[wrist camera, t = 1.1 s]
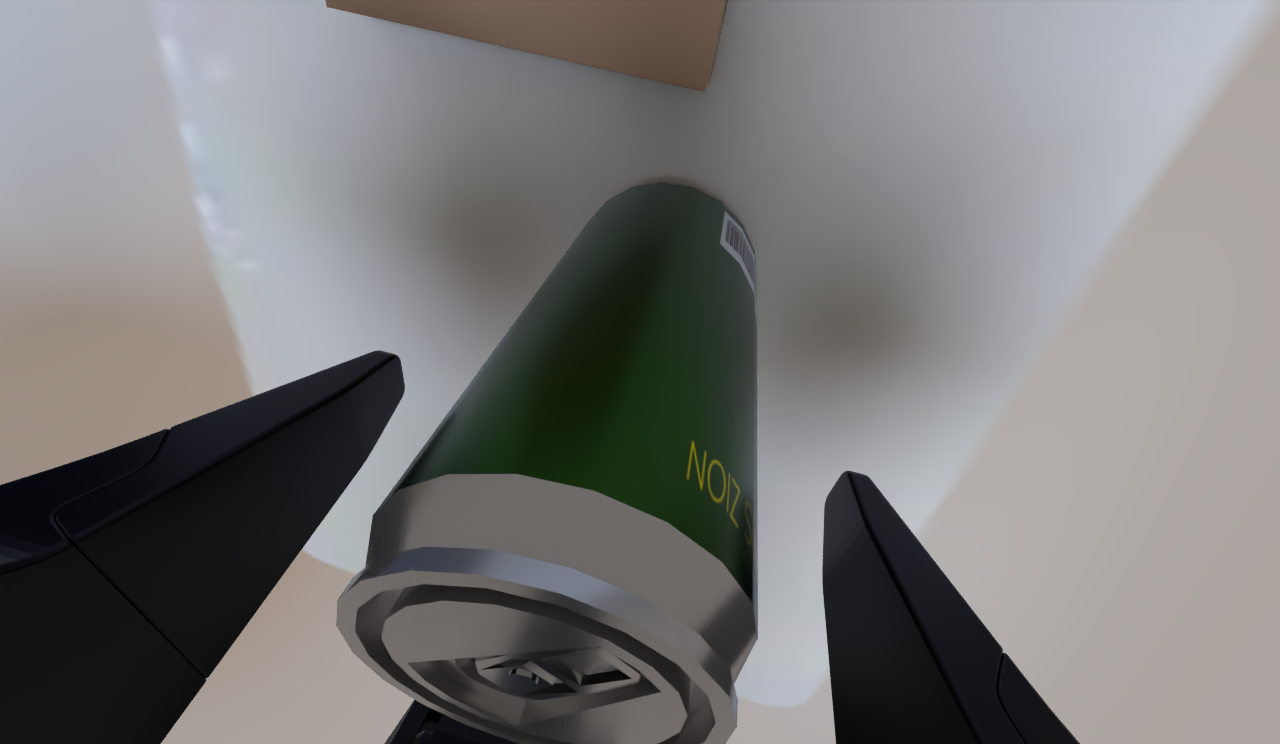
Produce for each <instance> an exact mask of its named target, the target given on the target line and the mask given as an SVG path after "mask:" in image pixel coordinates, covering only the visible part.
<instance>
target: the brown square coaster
mask: <svg viewBox="0 0 1280 744" xmlns="http://www.w3.org/2000/svg"><path fill="white" fill-rule="evenodd" d="M727 2H728V0H326V5H327V7H330V8H334V9H339V10H343V11H348V12H352V13H356V14H361V15H365V16H370V17H374V18H379V19H383V20H388V21H392V22H397V23H401V24H405V25H410V26H414V27H419V28H423V29H428V30H432V31H437V32H441V33H446V34H450V35H455V36H459V37H463V38H468V39H472V40H477V41H481V42H486V43H490V44H495V45H499V46H504V47H508V48H512V49H517V50H521V51H526V52H530V53H535V54H539V55H544V56H548V57H553V58H557V59H562V60H566V61H570V62H575V63H579V64H584V65H588V66H593V67H597V68H602V69H606V70H611V71H615V72H619V73H624V74H628V75H633V76H637V77H642V78H646V79H651V80H655V81H660V82H664V83H669V84H673V85H677V86H682V87H686V88H691V89H695V90H700V91H704V92H705V90H706V88H707V86H708V84H709V82H710V78H711V74H712V69H713V65H714V60H715V56H716V51H717V47H718V42H719V38H720V33H721V29H722V24H723V20H724V15H725V11H726V6H727Z"/></svg>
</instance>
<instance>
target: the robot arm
mask: <svg viewBox="0 0 1280 744" xmlns="http://www.w3.org/2000/svg"><path fill="white" fill-rule="evenodd" d="M404 390H405V384H404V378H403V372H402V366H401V361H400V358H399V357H398V356H397V355H395V354H392V353H388V352H384V351H374V352H371V353H368V354H365V355H363V356H360V357H357V358H355V359H352V360H349V361H347V362H344V363H341V364H339V365H336V366H333V367H331V368H328V369H325V370H323V371H320V372H317V373H315V374H312V375H309V376H307V377H304V378H301V379H299V380H296V381H293V382H290V383H288V384H285V385H282V386H280V387H277V388H274V389H272V390H269V391H266V392H264V393H261V394H258V395H256V396H253V397H250V398H248V399H245V400H242V401H240V402H237V403H234V404H232V405H229V406H226V407H224V408H221V409H218V410H216V411H213V412H210V413H208V414H205V415H202V416H199V417H197V418H194V419H192V420H189V421H186V422H183V423H181V424H178V425H175V426H173V427H171V429H170V430H169V429H164V430H162V431H159V432H157V433H154V434H151V435H149V436H146V437H143V438H141V439H138V440H135V441H132V442H129V443H126V444H124V445H121V446H118V447H116V448H113V449H110V450H107V451H104V452H102V453H98V454H95V455H92V456H89V457H86V458H83V459H80V460H77V461H74V462H71V463H68V464H65V465H62V466H59V467H56V468H53V469H50V470H46V471H44V472H40V473H37V474H34V475H31V476H28V477H24V478H21V479H18V480H15V481H12V482H9V483H5V484H2V485H0V744H160V743H161V742H162V741H163V740H164V738H165V737H166V735H167V734H168V733H169V731H170V730H171V729H172V727H173V726H174V724H175V723H176V722H177V720H178V719H179V718H180V716H181V715H182V714H183V712H184V711H185V709H186V708H187V706H188V705H189V704H190V702H191V701H192V700H193V698H194V697H195V696H196V694H197V693H198V692H199V690H200V689H201V687H202V686H203V685H204V683H205V682H206V678H208V677H209V676H210V674H211V673H212V672H213V670H214V669H215V667H216V666H217V665H218V663H219V662H220V661H221V659H222V658H223V657H224V655H225V654H226V652H227V651H228V650H229V648H230V647H231V646H232V644H233V643H234V641H235V640H236V639H237V637H238V636H239V635H240V633H241V632H242V630H243V629H244V627H245V626H246V625H247V623H248V622H249V621H250V619H251V618H252V617H253V615H254V614H255V613H256V611H257V610H258V608H259V607H260V606H261V604H262V603H263V601H264V600H265V599H266V597H267V596H268V595H269V593H270V592H271V591H272V589H273V588H274V586H275V585H276V584H277V582H278V581H279V580H280V578H281V577H282V575H283V574H284V573H285V571H286V570H287V569H288V567H289V566H290V564H291V563H292V561H293V560H294V559H295V558H296V556H297V555H298V553H299V552H300V551H301V549H302V548H303V547H304V545H305V544H306V542H307V541H308V540H309V538H310V537H311V536H312V534H313V533H314V531H315V530H316V529H317V527H318V526H319V525H320V523H321V522H322V520H323V519H324V518H325V516H326V515H327V514H328V512H329V511H330V509H331V508H332V507H333V505H334V504H335V503H336V501H337V500H338V498H339V497H340V496H341V494H342V493H343V492H344V490H345V489H346V487H347V486H348V485H349V483H350V482H351V481H352V479H353V478H354V476H355V475H356V474H357V472H358V471H359V470H360V468H361V467H362V465H363V464H364V462H365V461H366V459H367V458H368V456H369V455H370V453H371V451H372V450H373V448H374V446H375V445H376V443H377V441H378V439H379V438H380V436H381V434H382V432H383V430H384V429H385V427H386V425H387V423H388V422H389V420H390V418H391V416H392V415H393V413H394V411H395V409H396V408H397V406H398V404H399V402H400V401H401V399H402V397H403V394H404ZM823 595H824V607H825V619H826V630H827V642H828V654H829V665H830V677H831V689H832V700H833V712H834V723H835V735H836V744H1080V743H1079V742H1078V741H1077V740H1076V738H1075V737H1074V736H1073V735H1072V734H1071V733H1070V731H1069V730H1068V729H1067V728H1066V727H1065V726H1064V724H1063V723H1062V722H1061V721H1060V720H1059V719H1058V718H1057V716H1056V715H1055V714H1054V713H1053V712H1052V710H1051V709H1050V708H1049V707H1048V705H1047V704H1046V703H1045V702H1044V700H1043V699H1042V698H1041V697H1040V695H1039V694H1038V693H1037V692H1036V690H1035V689H1034V688H1033V687H1032V685H1031V684H1030V683H1029V682H1028V680H1027V679H1026V678H1025V677H1024V675H1023V674H1022V673H1021V672H1020V670H1019V669H1018V668H1017V666H1016V665H1015V664H1014V663H1013V661H1012V660H1011V659H1010V657H1009V656H1008V655H1007V654H1006V653H1002V652H1003V649H1002V647H1001V646H1000V645H999V643H998V642H997V641H996V640H995V638H994V637H993V636H992V634H991V633H990V632H989V631H988V629H987V628H986V627H985V626H984V624H983V623H982V622H981V620H980V619H979V618H978V616H977V615H976V614H975V613H974V612H973V610H972V609H971V608H970V606H969V605H968V604H967V602H966V601H965V600H964V598H963V597H962V596H961V595H960V594H959V592H958V591H957V590H956V588H955V587H954V586H953V584H952V583H951V582H950V581H949V579H948V578H947V577H946V575H945V574H944V573H943V572H942V570H941V569H940V568H939V566H938V565H937V564H936V562H935V561H934V560H933V559H932V558H931V556H930V555H929V553H928V552H927V551H926V550H925V549H924V547H923V546H922V545H921V543H920V542H919V541H918V539H917V538H916V537H915V536H914V534H913V533H912V532H911V530H910V529H909V528H908V527H907V525H906V524H905V523H904V521H903V520H902V519H901V518H900V516H899V515H898V514H897V512H896V511H895V510H894V509H893V507H892V506H891V505H890V503H889V502H888V501H887V500H886V498H885V497H884V496H883V494H882V493H881V492H880V491H879V489H878V488H877V487H876V485H875V484H874V483H873V482H872V480H871V479H870V478H869V477H868V476H866V475H864V474H860V473H856V472H852V471H845V472H844V473H843V474H842V475H841V476H840V478H839V479H838V481H837V482H836V484H835V485H834V487H833V488H832V490H831V491H830V493H829V494H828V496H827V498H826V502H825V509H824V540H823ZM385 744H519V743H515V742H512V741H509V740H506V739H504V738H501V737H498V736H495V735H493V734H490V733H487V732H484V731H482V730H479V729H476V728H473V727H471V726H468V725H465V724H463V723H461V722H459V721H457V720H455V719H453V718H451V717H448V716H446V715H444V714H442V713H440V712H438V711H436V710H434V709H432V708H430V707H428V706H425V705H423V704H421V703H420V702H418V701H416V700H414V701H413V703H412V704H411V706H410V707H409V709H408V710H407V712H406V713H405V715H404V716H403V717H402V719H401V720H400V722H399V723H398V725H397V726H396V728H395V729H394V731H393V732H392V734H391V735H390V736H389V738H388V739H387V741H386V743H385Z"/></svg>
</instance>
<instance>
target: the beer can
mask: <svg viewBox="0 0 1280 744" xmlns="http://www.w3.org/2000/svg"><path fill="white" fill-rule="evenodd" d="M336 625H337V627H338V629H339V630H340V632H341V634H342V635H343V637H344V638H345V640H346V642H347V643H348V645H349V647H350V648H351V650H352V652H353V653H354V654H355V655H356V656H357V657H358V658H360V659H361V660H362V661H363V662H364V663H365V664H366V665H367V666H369V667H370V668H371V669H372V670H373V671H374V672H375V673H377V674H378V675H379V676H380V677H381V678H382V679H383V680H385V681H386V682H388V683H390V684H391V685H393V686H394V687H396V688H397V689H399V690H401V691H402V692H404V693H405V694H407V695H409V696H410V697H412V698H414V699H415V700H416V701H418V702H420V703H421V704H423V705H425V706H428V707H430V708H432V709H434V710H436V711H438V712H440V713H442V714H444V715H446V716H448V717H451V718H453V719H455V720H457V721H459V722H461V723H463V724H465V725H468V726H471V727H473V728H476V729H479V730H482V731H484V732H487V733H490V734H493V735H495V736H498V737H501V738H504V739H506V740H509V741H512V742H515V743H519V744H725V743H726V742H727V740H728V739H729V737H730V736H731V734H732V733H733V731H734V730H735V728H736V727H737V701H738V700H737V696H736V691H735V687H734V683H735V681H736V679H737V677H738V675H739V673H740V671H741V669H742V667H743V665H744V663H745V662H746V660H747V658H748V656H749V654H750V652H751V650H752V648H753V646H754V644H755V642H756V640H757V638H758V584H757V276H756V264H755V252H754V249H753V246H752V244H751V242H750V240H749V238H748V235H747V233H746V231H745V229H744V227H743V225H742V223H741V222H740V221H739V220H738V219H737V218H736V217H735V216H734V215H733V214H732V213H731V212H730V211H729V210H728V209H727V208H726V207H725V206H724V205H723V203H722V202H720V201H718V200H716V199H714V198H712V197H710V196H709V195H707V194H705V193H703V192H701V191H699V190H697V189H695V188H693V187H687V186H681V185H675V184H669V183H656V184H650V185H644V186H638V187H632V188H630V189H628V190H626V191H625V192H623V193H621V194H619V195H617V196H616V197H614V198H612V199H610V200H608V201H607V202H606V203H605V204H604V205H603V206H602V207H601V208H600V209H599V211H598V212H597V213H596V214H595V215H594V216H593V217H592V219H591V220H590V221H589V222H588V223H587V225H586V226H585V227H584V229H583V230H582V232H581V233H580V234H579V236H578V237H577V238H576V240H575V241H574V242H573V244H572V245H571V247H570V248H569V249H568V251H567V252H566V253H565V255H564V256H563V257H562V259H561V260H560V262H559V263H558V264H557V266H556V267H555V268H554V270H553V271H552V272H551V274H550V275H549V277H548V278H547V279H546V281H545V282H544V283H543V285H542V286H541V287H540V289H539V290H538V292H537V293H536V294H535V296H534V297H533V298H532V300H531V301H530V302H529V304H528V305H527V307H526V308H525V309H524V311H523V312H522V313H521V315H520V316H519V317H518V319H517V320H516V321H515V323H514V324H513V326H512V327H511V328H510V330H509V331H508V332H507V334H506V335H505V336H504V338H503V339H502V341H501V342H500V343H499V345H498V346H497V347H496V349H495V350H494V351H493V353H492V354H491V356H490V357H489V358H488V360H487V361H486V362H485V364H484V365H483V366H482V368H481V369H480V371H479V372H478V373H477V375H476V376H475V377H474V379H473V380H472V381H471V383H470V384H469V386H468V387H467V388H466V390H465V391H464V392H463V394H462V395H461V396H460V398H459V399H458V401H457V402H456V403H455V405H454V406H453V407H452V409H451V410H450V411H449V413H448V414H447V415H446V417H445V418H444V420H443V421H442V422H441V424H440V425H439V426H438V428H437V429H436V430H435V432H434V433H433V435H432V436H431V437H430V439H429V440H428V441H427V443H426V444H425V445H424V447H423V448H422V450H421V451H420V452H419V454H418V455H417V456H416V458H415V459H414V460H413V462H412V463H411V465H410V466H409V467H408V469H407V470H406V471H405V473H404V474H403V475H402V477H401V478H400V480H399V481H398V482H397V484H396V485H395V486H394V488H393V489H392V490H391V492H390V493H389V495H388V496H387V497H386V499H385V500H384V501H383V503H382V504H381V505H380V507H379V508H378V510H377V511H376V512H375V514H374V515H373V519H372V526H371V533H370V539H369V546H368V553H367V560H366V567H365V568H364V569H363V570H362V571H360V572H359V573H358V574H357V575H356V576H355V577H354V578H353V579H352V580H351V581H350V583H349V584H348V586H347V587H346V589H345V590H344V592H343V593H342V594H341V596H340V597H339V599H338V602H337V623H336Z"/></svg>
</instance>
